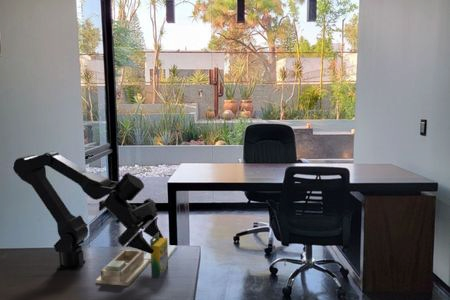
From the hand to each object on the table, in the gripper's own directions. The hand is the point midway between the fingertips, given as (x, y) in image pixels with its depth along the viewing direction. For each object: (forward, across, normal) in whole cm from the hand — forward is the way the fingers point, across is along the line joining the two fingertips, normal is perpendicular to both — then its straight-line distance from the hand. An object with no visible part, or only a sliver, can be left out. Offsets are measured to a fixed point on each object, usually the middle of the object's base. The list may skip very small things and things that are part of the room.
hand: (158, 246), depth 124 cm
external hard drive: (+3, +13, +10) cm, 17 cm away
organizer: (-2, -2, +13) cm, 14 cm away
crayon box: (+6, 0, +6) cm, 8 cm away
